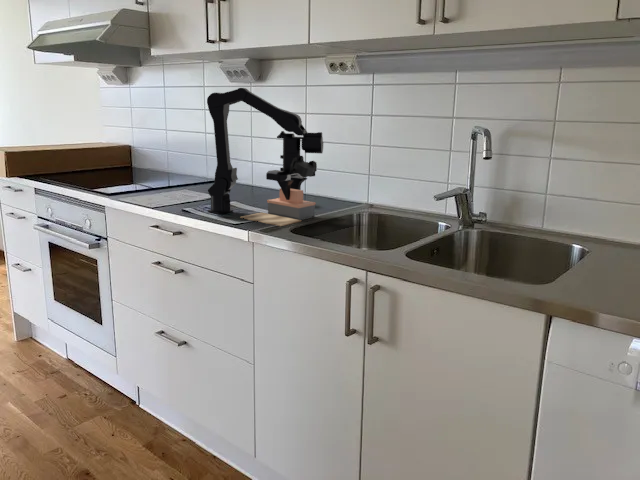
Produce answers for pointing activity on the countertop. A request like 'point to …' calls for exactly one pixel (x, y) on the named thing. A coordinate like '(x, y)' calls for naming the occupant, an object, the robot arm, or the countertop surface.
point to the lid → (292, 199)
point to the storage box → (291, 211)
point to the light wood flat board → (271, 219)
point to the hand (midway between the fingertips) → (291, 199)
